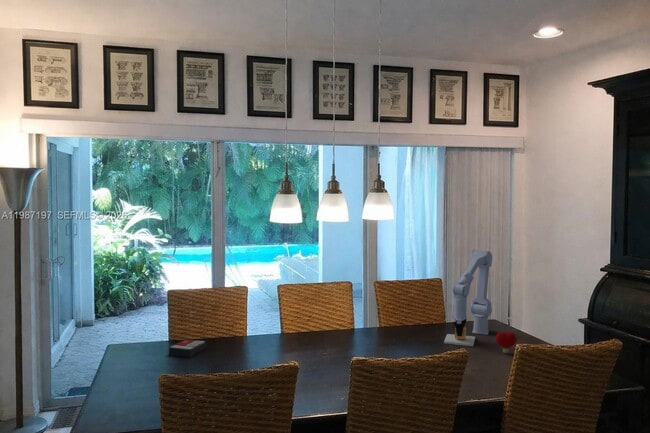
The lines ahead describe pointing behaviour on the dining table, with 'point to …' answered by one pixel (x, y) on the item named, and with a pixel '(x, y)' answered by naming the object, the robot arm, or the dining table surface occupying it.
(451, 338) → the plate
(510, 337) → the dark red rounded lump
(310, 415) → the dining table surface
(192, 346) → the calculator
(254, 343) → the dining table surface
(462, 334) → the tilted mustard cube
